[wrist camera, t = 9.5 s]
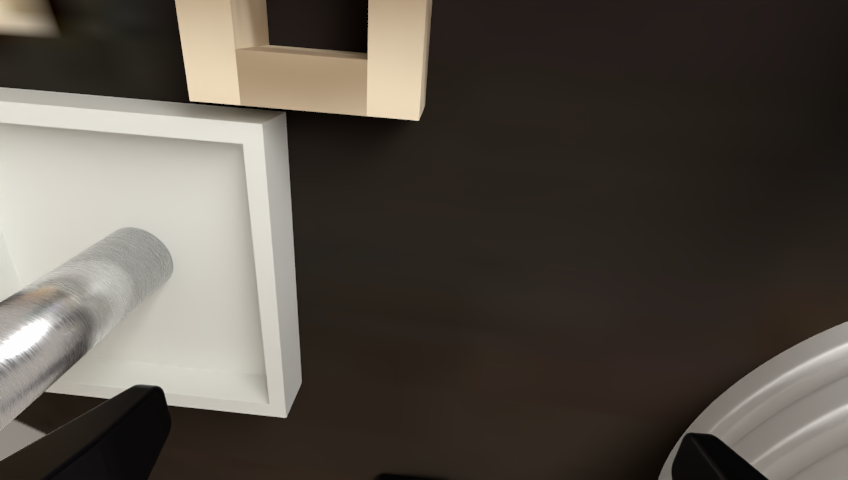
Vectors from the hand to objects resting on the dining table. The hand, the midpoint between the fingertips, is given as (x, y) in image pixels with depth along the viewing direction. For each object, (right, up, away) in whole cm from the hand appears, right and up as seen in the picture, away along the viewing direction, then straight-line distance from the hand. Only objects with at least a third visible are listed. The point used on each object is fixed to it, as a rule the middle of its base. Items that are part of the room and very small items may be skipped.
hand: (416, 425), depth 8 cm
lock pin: (-13, +2, +14) cm, 19 cm away
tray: (-13, +3, +14) cm, 20 cm away
